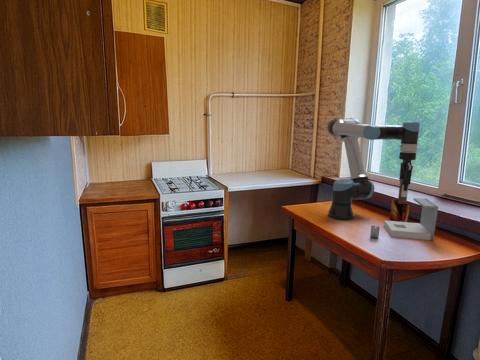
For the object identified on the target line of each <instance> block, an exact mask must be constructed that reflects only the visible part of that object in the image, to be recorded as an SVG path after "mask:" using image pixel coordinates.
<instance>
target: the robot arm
mask: <svg viewBox="0 0 480 360" xmlns="http://www.w3.org/2000/svg"><path fill="white" fill-rule="evenodd" d="M326 128H327V132H328V133H329V134H330V135H331V136H332V137H333V136H334V137H340V138H341V141H342V142H343V143H344V148H345V153H346V157H347V164H348V169H349V173H350V174H349V175H350V178H343V179H341V178H340V179H337V180H335V181H334V183H333V186H332V197H331V198H332V199H331V205H330V207H329V210H328V212H327V213H328V214H327V215H328V217H330V218H331V219H334V220H339V221H350V220H353V219H354V212H353V211H354V210H353V208H352V202H353V201H354V200H366V199H369V198H372V196H373V194H374V193H375V185H374V182H372V181H371V180H369V176H368V175H366V172H365V169H364V164H363V158H362V153H361V148H360V144H359V139H360V138H362V139H366V140H369V141H372V140H373V141H374V140H378V141H379V140H397V141H398V140H399V141H400V145H399V146H398V147H399V148H400V152H399V160H402V162H400V167H399V168H400V170H399V178H398V179H399V182H400V179H404V180H403V183H402V193H401V197H407V198H408V194H409V193H408V191H409V185H411V180H412V173H413V168H414V166H413V164H412V161H415V160H416V158H417V153H416V152H418V151H417V150H418V141H419V134H420V122H419V121H403V123H402V125H394V124H392V125H391V124H389V125H388V124H387V125H385V124H383V125H381V124H378V125H377V124H366V123H361V121H360V120H359V119H357V118H351V117H350V118H341V117H340V118H338V117H337V118H333V119H332V120H330V121H329V122H328V124H327V127H326Z"/></svg>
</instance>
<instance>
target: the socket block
mask: <svg viewBox="0 0 480 360" xmlns="http://www.w3.org/2000/svg"><path fill="white" fill-rule="evenodd" d="M413 201H415V203H417V204H418V205H420V206H421V207H422V209H421V213H420V219H419V220H420V221H419V223H418V222H408V221H407V222H397V221H391V220H384V223H383V227H384V228H385V230H386V232H387V233H388V234H389V236H390V237H393V238H394V237H395V238H404V239H414V240H415V239H416V240H424V241H425V240H427V241H434V238H435V237H434V236H435V231H436V225H437V219H438V213H439V211H438V210H439V206H438V205H436V204H435V203H434V202H432V201H430V200H429V199H428V198H423V197H422V198H421V197H420V198H419V197H418V198H417V197H413Z"/></svg>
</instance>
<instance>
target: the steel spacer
mask: <svg viewBox="0 0 480 360" xmlns="http://www.w3.org/2000/svg"><path fill="white" fill-rule="evenodd" d="M369 233H370V234H369V237H370V238H371V239H372V240H378V239H379V235H380V226H379V225H371V226H370V232H369Z"/></svg>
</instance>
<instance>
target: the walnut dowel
mask: <svg viewBox="0 0 480 360" xmlns="http://www.w3.org/2000/svg"><path fill="white" fill-rule="evenodd" d="M403 180H404V179H400V181H399V188H398V189H399V190H398V198H397V200H398V201H399V202H406V201H408V200H407V199H408V196H407V197H401V193H402V183H403Z"/></svg>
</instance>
